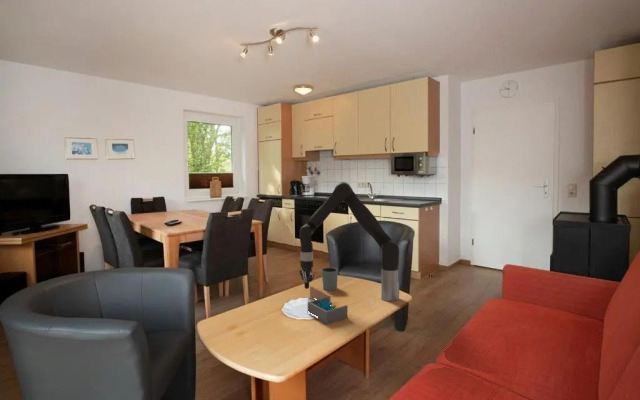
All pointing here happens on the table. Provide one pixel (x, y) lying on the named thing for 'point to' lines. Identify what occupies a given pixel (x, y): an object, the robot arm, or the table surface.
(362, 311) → the table surface
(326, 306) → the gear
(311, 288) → the tan thin board
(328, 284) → the grey green cup
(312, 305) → the housing
